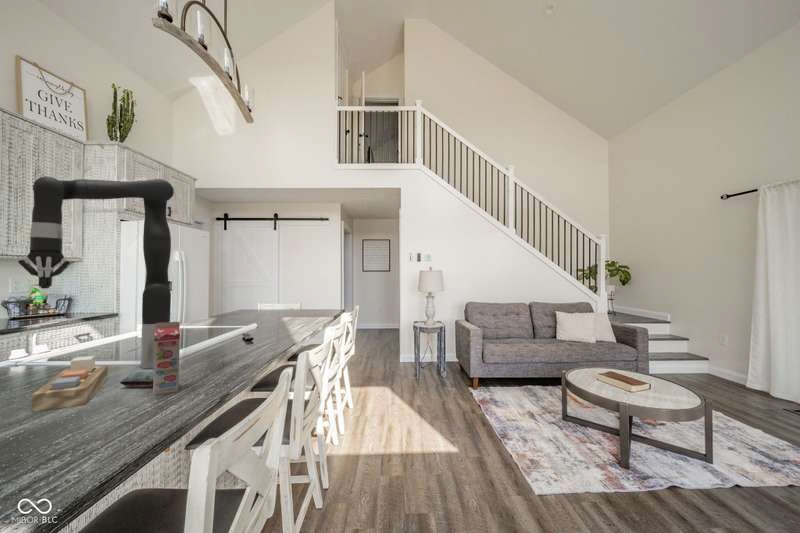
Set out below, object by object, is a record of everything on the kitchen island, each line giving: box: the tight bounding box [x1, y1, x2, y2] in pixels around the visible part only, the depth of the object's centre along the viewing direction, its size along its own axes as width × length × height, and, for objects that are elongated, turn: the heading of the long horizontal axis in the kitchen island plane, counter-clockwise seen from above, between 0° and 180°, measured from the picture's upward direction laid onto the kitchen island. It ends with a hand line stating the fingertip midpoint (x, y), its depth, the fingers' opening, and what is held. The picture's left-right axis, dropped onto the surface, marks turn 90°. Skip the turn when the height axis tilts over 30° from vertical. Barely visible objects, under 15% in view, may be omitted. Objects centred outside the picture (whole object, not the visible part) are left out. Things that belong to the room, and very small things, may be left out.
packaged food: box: [118, 369, 154, 388], centre depth 115 cm, size 9×12×5 cm
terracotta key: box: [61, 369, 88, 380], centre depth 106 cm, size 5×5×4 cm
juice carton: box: [152, 321, 181, 396], centre depth 111 cm, size 7×7×22 cm
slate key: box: [51, 376, 81, 390], centre depth 99 cm, size 5×5×4 cm
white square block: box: [69, 355, 96, 372], centre depth 113 cm, size 5×5×4 cm
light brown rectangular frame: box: [31, 365, 109, 413], centre depth 106 cm, size 11×26×5 cm, turn 30°
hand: (45, 288), depth 114 cm, fingers closed
